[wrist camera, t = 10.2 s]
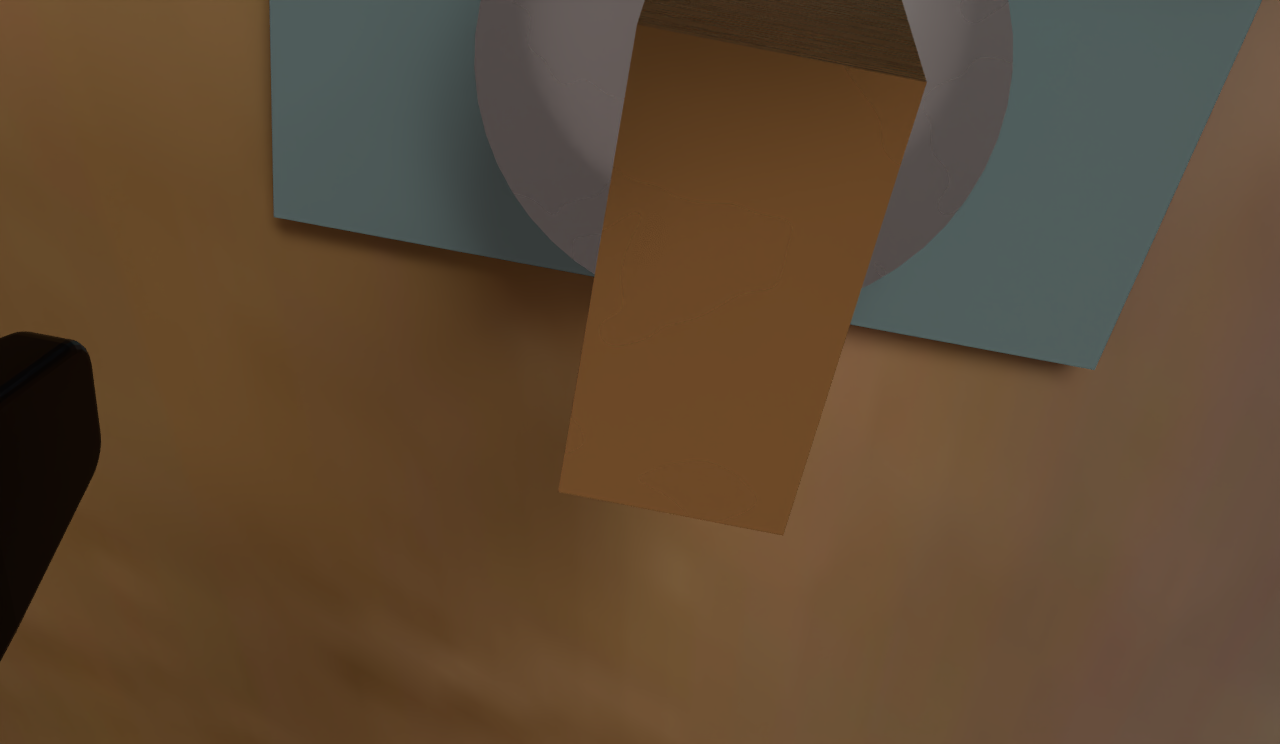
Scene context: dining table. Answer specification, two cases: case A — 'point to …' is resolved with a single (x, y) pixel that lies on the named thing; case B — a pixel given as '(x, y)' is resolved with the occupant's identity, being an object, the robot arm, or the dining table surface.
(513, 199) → the mat
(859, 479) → the dining table surface
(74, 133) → the dining table surface
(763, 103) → the grey round brown-barred piece
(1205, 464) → the dining table surface
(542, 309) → the dining table surface
